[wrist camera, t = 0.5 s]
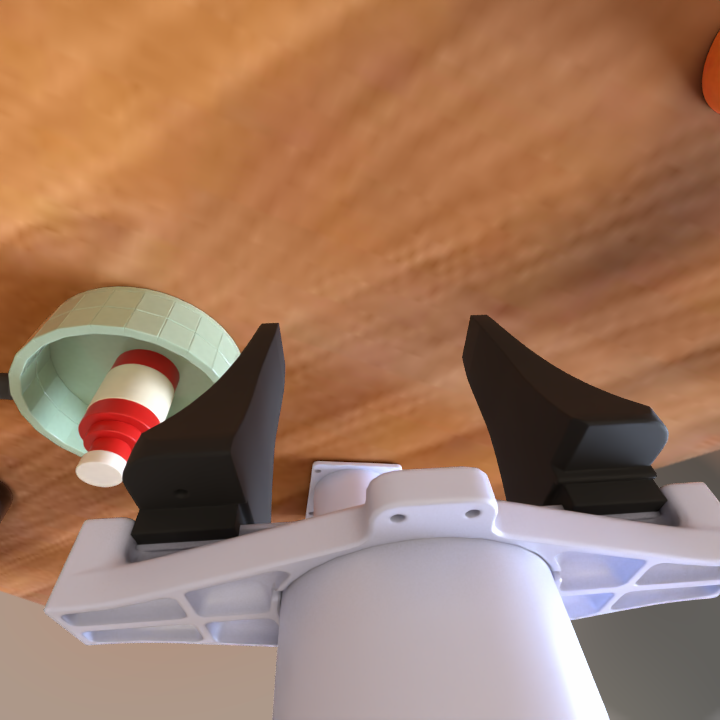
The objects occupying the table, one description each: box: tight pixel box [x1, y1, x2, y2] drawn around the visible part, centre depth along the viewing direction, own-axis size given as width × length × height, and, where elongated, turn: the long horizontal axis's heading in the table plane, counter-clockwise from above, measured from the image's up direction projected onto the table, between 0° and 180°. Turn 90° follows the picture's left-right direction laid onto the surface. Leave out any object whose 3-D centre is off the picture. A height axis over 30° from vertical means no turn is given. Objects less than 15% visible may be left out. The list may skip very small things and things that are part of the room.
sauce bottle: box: [76, 349, 180, 487], centre depth 26 cm, size 4×4×8 cm
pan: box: [8, 286, 240, 457], centre depth 28 cm, size 13×13×4 cm
